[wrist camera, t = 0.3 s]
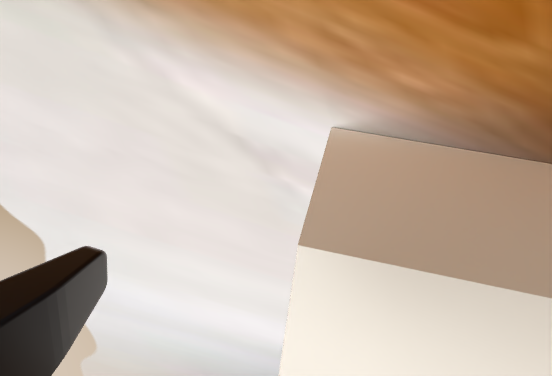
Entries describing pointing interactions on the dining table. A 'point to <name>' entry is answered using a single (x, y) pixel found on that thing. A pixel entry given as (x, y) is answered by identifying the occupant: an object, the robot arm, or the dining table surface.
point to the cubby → (422, 264)
